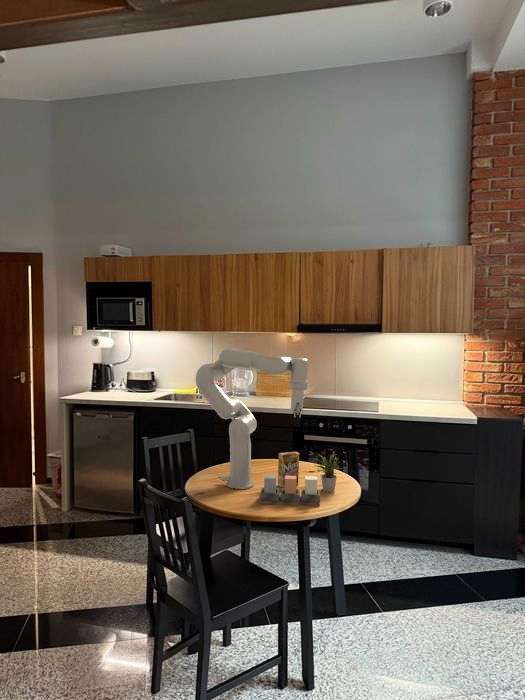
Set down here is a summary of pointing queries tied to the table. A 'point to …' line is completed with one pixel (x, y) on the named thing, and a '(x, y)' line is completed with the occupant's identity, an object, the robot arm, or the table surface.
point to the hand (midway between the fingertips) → (296, 424)
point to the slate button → (270, 484)
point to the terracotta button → (290, 484)
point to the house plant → (328, 474)
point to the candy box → (288, 467)
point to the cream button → (311, 485)
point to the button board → (290, 498)
